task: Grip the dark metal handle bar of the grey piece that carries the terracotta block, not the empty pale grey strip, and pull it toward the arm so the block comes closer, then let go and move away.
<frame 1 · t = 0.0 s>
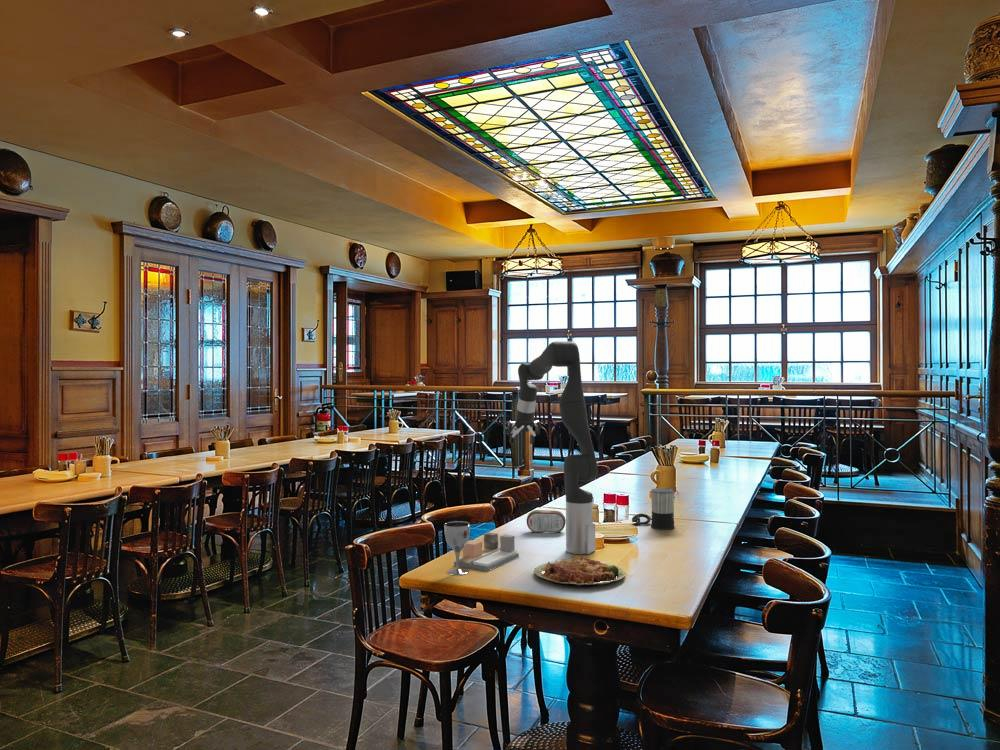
hand: (521, 443, 293), 31 cm above the table, tool tilted 20°, fingers open, 8 cm apart
rice dish: (579, 577, 211), on the table
grey piece: (478, 547, 229), point 4 cm above the table, slide at 0.0 cm, touching terracotta block
tin: (546, 533, 267), on the table
lane board: (486, 561, 227), on the table
terracotta block: (472, 556, 226), point 2 cm above the table, touching grey piece
wine glass: (457, 572, 215), on the table
milk frother: (653, 526, 277), on the table
grey strip: (495, 549, 226), point 4 cm above the table, slide at 0.0 cm
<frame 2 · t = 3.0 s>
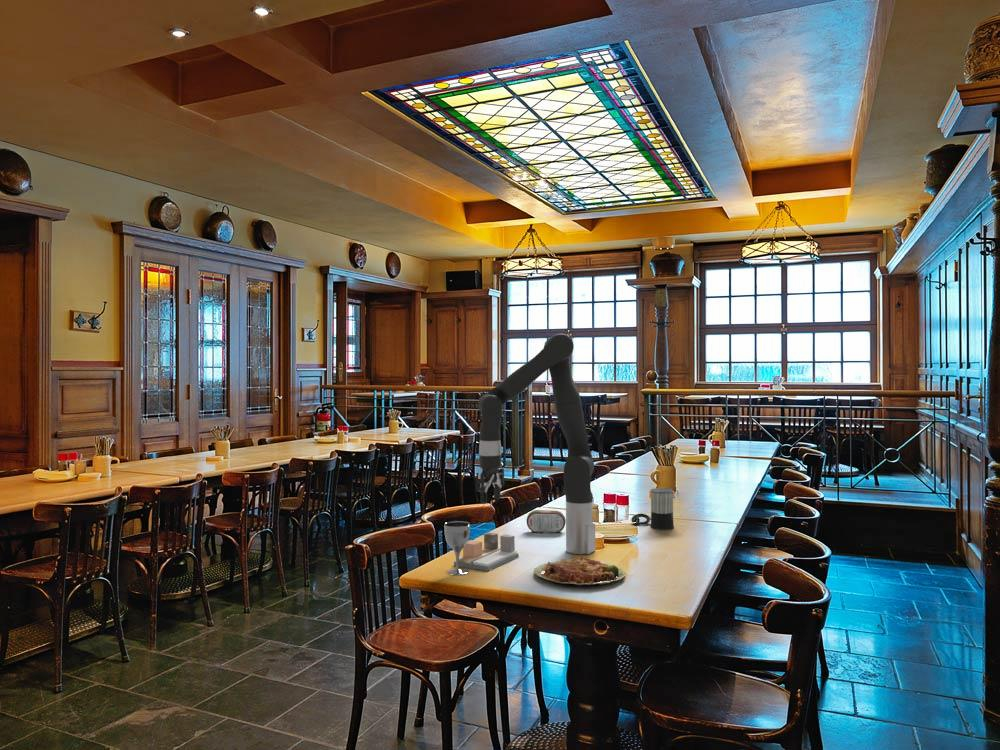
hand: (490, 501, 236), 18 cm above the table, tool pointing down, fingers open, 8 cm apart
nothing on the table moved.
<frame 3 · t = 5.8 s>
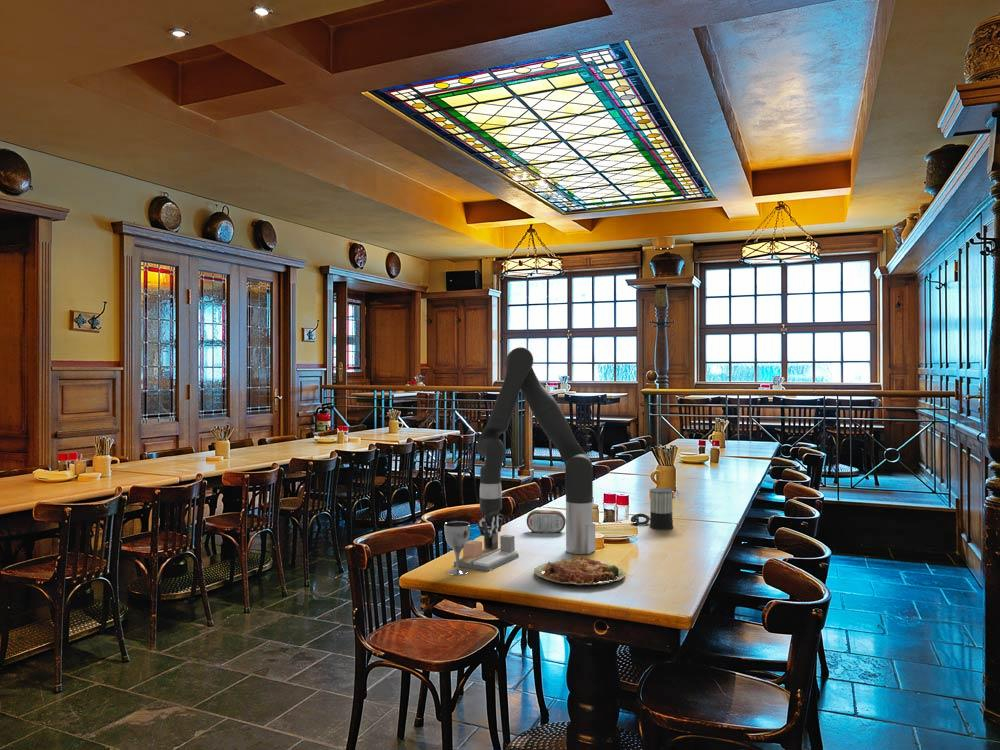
hand: (491, 546, 236), 3 cm above the table, tool pointing down, fingers closed on grey piece, 2 cm apart
grey piece: (478, 547, 229), point 4 cm above the table, slide at 0.0 cm, touching gripper, terracotta block
everything else where it was.
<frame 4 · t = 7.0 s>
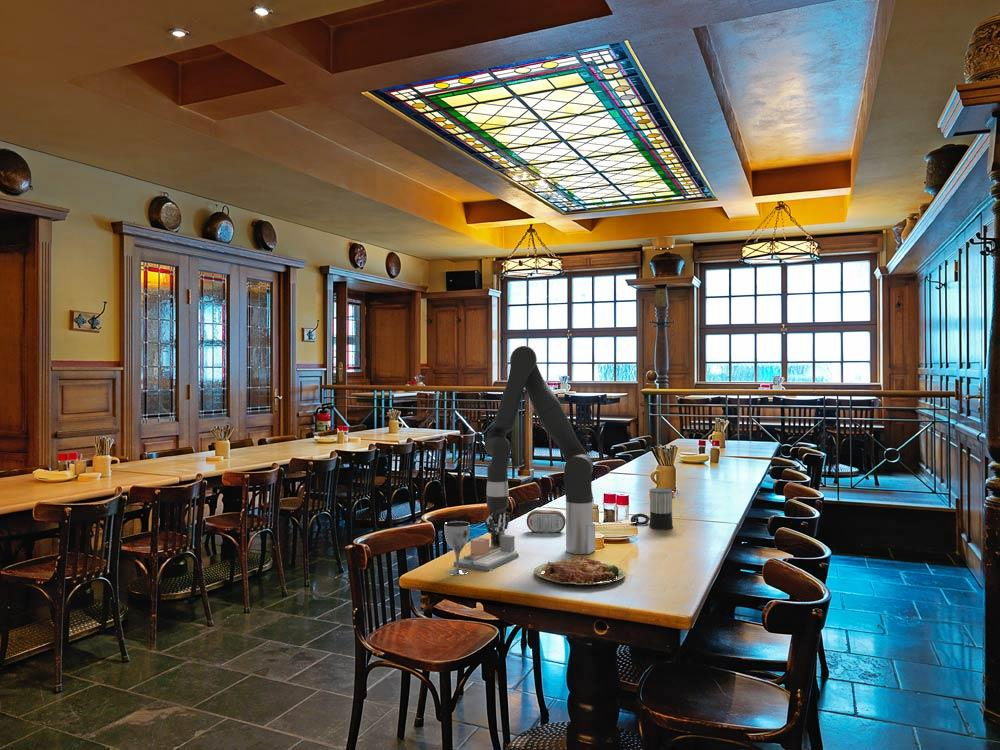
hand: (497, 543, 239), 3 cm above the table, tool pointing down, fingers closed on grey piece, 2 cm apart
grey piece: (485, 544, 233), point 4 cm above the table, slide at 4.4 cm, touching gripper, terracotta block
terracotta block: (480, 553, 230), point 2 cm above the table, touching grey piece
everything else where it was.
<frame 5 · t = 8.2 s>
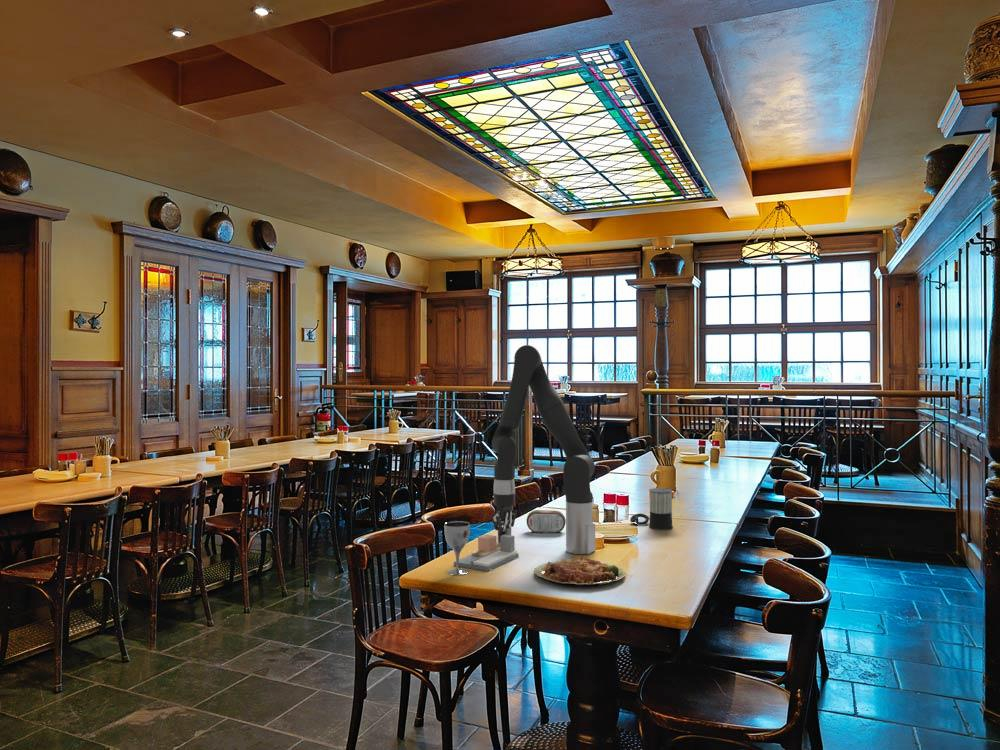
hand: (504, 540, 243), 3 cm above the table, tool pointing down, fingers closed on grey piece, 2 cm apart
grey piece: (492, 541, 237), point 4 cm above the table, slide at 8.9 cm, touching gripper, terracotta block
terracotta block: (487, 549, 234), point 2 cm above the table, touching grey piece
everything else where it was.
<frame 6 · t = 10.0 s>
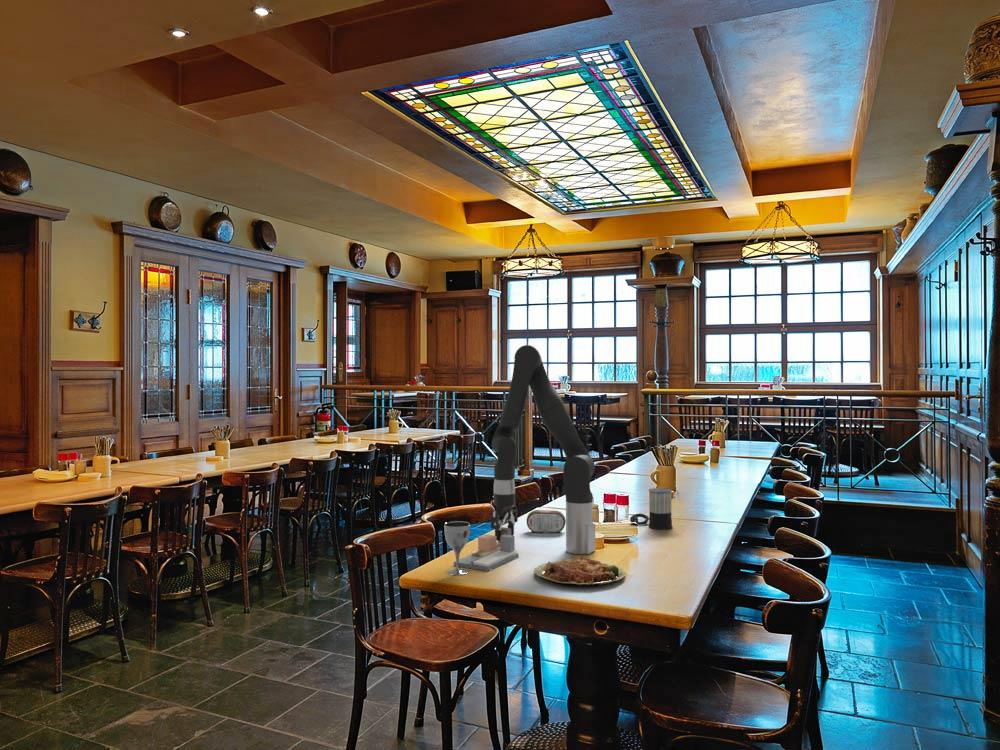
hand: (504, 537, 243), 4 cm above the table, tool pointing down, fingers open, 8 cm apart
grey piece: (492, 541, 237), point 4 cm above the table, slide at 8.9 cm, touching terracotta block
everything else where it was.
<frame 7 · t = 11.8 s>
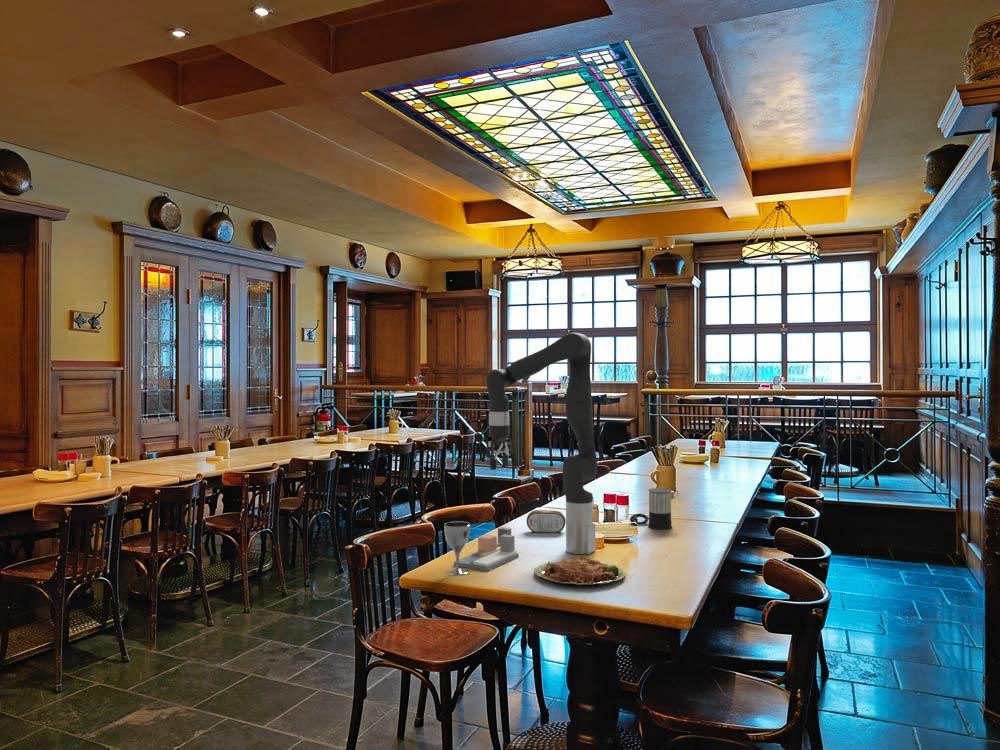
hand: (499, 468, 253), 27 cm above the table, tool pointing down, fingers open, 8 cm apart
nothing on the table moved.
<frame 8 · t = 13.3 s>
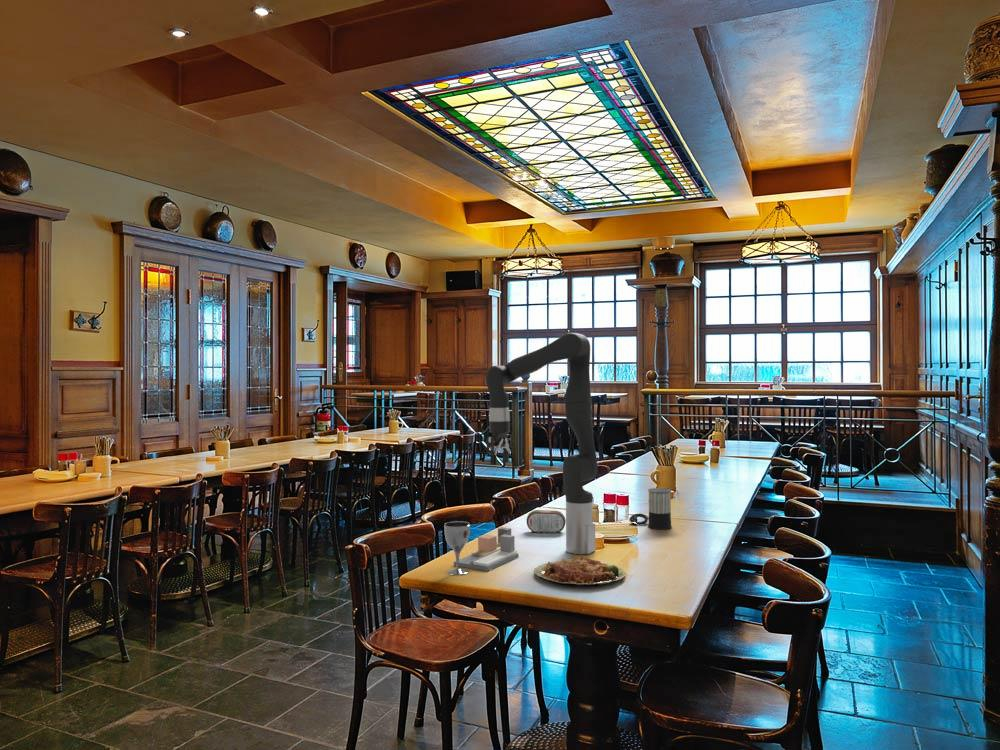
hand: (499, 463, 255), 28 cm above the table, tool pointing down, fingers open, 8 cm apart
at the end: grey piece slide at 8.9 cm; terracotta block inside the target area (0.6 cm from its centre), point 2.0 cm above the table; grey strip slide at 0.0 cm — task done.
